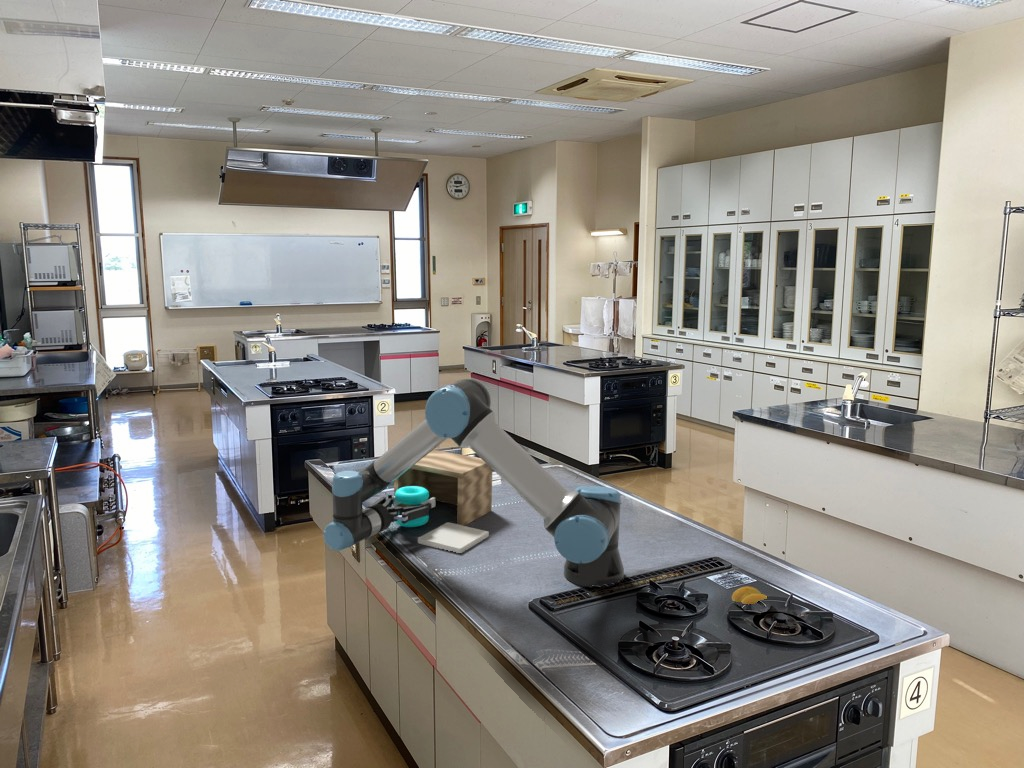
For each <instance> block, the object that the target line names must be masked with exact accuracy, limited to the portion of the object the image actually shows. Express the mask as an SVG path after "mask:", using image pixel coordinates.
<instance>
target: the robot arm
mask: <svg viewBox="0 0 1024 768" xmlns="http://www.w3.org/2000/svg"><path fill="white" fill-rule="evenodd" d="M491 405H492V404H491V395H490V392H489V391H488V389H487V387H486V386H485V385H483V383H481V382H480V381H477V380H475V379H471V378H467V379H466V378H465V379H464V378H463V379H461V380H460V379H459V380H457V381H455V382H453V383H450V384H448V385H447V384H446V385H443V386H441V387H439V388H438V389H437V390H435V391H434V392H432V394H431V395H430V396H429V397H428V399H427V401H426V404H425V406H424V407H425V408H424V409H425V410H424V412H425V414H424V415H425V419H424V420H423V421H422V422H421V423H420V424H418V425H417V426H416V427H415V428H414V429H412V430H411V431H410V432H408V433H407V434H406V435H405V436H403V437H402V438H401V439H400V440H399V441H398V442H396V443H395V444H394V445H393V446H392V447H390V448H389V449H388V450H387V451H385V452H384V453H383V454H382V455H380V456H379V457H378V458H377V459H376V460H374V461H373V462H372V463H370V464H369V465H368V466H367V467H366V468H364V469H362V470H361V471H355V470H343V471H339V472H336V473H335V474H334V475H333V476H332V487H331V492H332V493H331V494H332V496H331V497H332V522H329V524H327V525H326V526H325V529H324V531H323V540H324V542H325V543H326V545H327V546H328V547H329V548H330V549H331V550H334V551H336V552H340V551H342V550H345V549H348V548H351V547H353V546H354V545H356V544H359V543H360V542H362V541H364V540H367V539H369V538H370V537H373V536H375V535H376V534H380V533H381V532H384V531H386V530H387V529H388V528H389V527H390V525H391V524H392V523H394V522H396V521H397V520H402V523H403V524H404V523H407V522H408V521H411V520H414V519H418V518H421V517H424V516H427V515H429V510H431V509H433V508H435V507H436V500H435V497H433V498H430V499H427V500H426V501H424V502H422V503H420V504H416V505H413V506H410V507H405V508H402V507H395V508H394V506H397V505H399V504H401V503H400V502H399V501H397V500H396V498H395V496H394V495H392V494H388V495H387V497H386V496H382V497H380V498H378V499H377V500H376V501H374V502H372V503H371V504H368V505H366V508H363V503H364V502H367V501H368V500H369V499H371V498H372V497H375V496H376V495H378V494H380V493H382V492H384V491H385V490H386V489H387V488H388V487H389V486H390V485H391V484H392V483H394V480H395V479H397V478H398V477H399V476H400V475H402V474H403V473H404V472H406V471H407V470H408V469H409V468H411V467H412V466H413V465H414V464H416V463H417V462H418V461H420V460H421V459H422V458H423V457H425V456H426V455H427V454H428V453H430V452H431V451H432V450H436V448H437V447H439V445H441V444H443V442H445V441H446V440H447V439H451V440H452V441H453V442H454V444H455V445H457V446H458V447H459V448H460V449H471V451H472V452H474V454H476V455H477V456H478V458H481V459H482V460H483V461H484V462H485V463H486V464H488V465H489V466H490V467H491V468H492V471H493V472H495V474H496V475H498V476H499V477H500V478H501V479H502V480H503V481H504V482H505V484H507V485H508V486H509V487H510V488H512V490H513V491H515V493H516V494H517V495H519V497H520V498H521V499H523V500H524V501H525V502H526V503H527V504H528V505H529V506H530V507H531V508H532V509H534V511H535V512H536V513H537V514H538V515H540V517H542V518H543V528H544V529H545V530H546V531H547V532H548V533H549V534H550V535H551V536H552V537H553V539H554V546H555V548H556V550H557V551H558V553H559V554H560V555H561V556H562V557H563V558H564V559H565V562H564V565H563V576H564V577H565V578H566V579H567V580H568V581H569V582H570V583H573V584H576V585H578V586H581V587H585V586H592V585H601V584H609V583H613V582H618V581H620V580H622V579H623V580H624V575H625V570H624V564H623V561H622V557H621V554H620V549H619V539H620V538H619V537H620V523H621V521H620V518H621V505H622V499H621V498H622V497H621V492H619V491H618V490H617V489H615V488H611V487H607V486H601V485H600V486H599V485H580V486H578V487H575V489H574V491H569V490H567V488H565V487H564V486H563V485H562V484H561V483H560V482H559V481H558V480H557V479H556V478H554V476H552V475H551V473H549V472H548V471H547V470H546V469H545V468H544V467H543V466H542V465H541V464H540V463H539V462H538V461H537V460H535V458H534V457H533V456H531V455H530V453H528V452H527V450H525V449H524V448H523V447H522V446H521V445H520V444H519V443H518V442H516V441H515V440H514V438H513V437H511V435H509V434H508V433H507V432H506V431H505V430H504V429H503V428H502V427H501V426H500V425H498V423H496V420H495V418H496V417H495V416H496V415H495V412H494V411H493V410H492V409H491ZM398 510H399V511H398ZM623 580H622V581H623Z"/></svg>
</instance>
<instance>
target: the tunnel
mask: <svg viewBox="0 0 1024 768" xmlns="http://www.w3.org/2000/svg"><path fill="white" fill-rule="evenodd" d="M406 486H419V487H423V488H425V489H427V490H428V492H429V498H428V499H430V498H433V497H435V502H436V501H438V502H441V503H446V504H451V505H454V506H457V510H456V512H457V515H456V516H457V521H456V524H458V525H462V526H467V525H468V524H470V523H471V522H473V521H476V520H477V519H479V518H481V517H482V516H484V515H486V514H488V513H490V512H492V510H493V509H492V507H493V506H492V504H493V503H492V502H493V469H492V468H491V467H490V466H489V465H488V464H486V463H485V462H484V461H483V460H482V459H481V458H480V457H476V456H470V455H466V454H459V453H453V452H448V451H443V450H436V449H434V450H432V451H431V452H430V453H428V454H427V455H426V456H425V457H423V458H422V459H421V460H420V461H418V462H417V463H416V464H414V465H413V466H412V467H411V468H409V469H408V470H407V471H406V472H404V473H403V474H402V475H400V476H399V477H398V478H397V479H395V480H394V481H393V497H394V496H395V492H396V491H397V490H398V489H399V488H402V487H406ZM428 499H427V500H428ZM410 506H414V505H407V504H403V503H401V504H399V505H397V506H393V508H395V507H402V508H405V507H410ZM398 511H399V510H398Z"/></svg>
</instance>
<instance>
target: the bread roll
mask: <svg viewBox="0 0 1024 768" xmlns="http://www.w3.org/2000/svg"><path fill="white" fill-rule="evenodd" d="M761 593H762V592H761V591H759V590H758V589H757V588H756V587H752V586H749V585H748V586H747V585H746V586H742V587H740V588H737V589H736V590H735V591H734V592H733V593H732V595H731V600H732V602H733V601H736V602H742V603H743V604H748V605H749V604H755V603H757V602H758V601H759V600H764V599H767V595H765V594H764V593H762V594H761Z"/></svg>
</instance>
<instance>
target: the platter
mask: <svg viewBox="0 0 1024 768" xmlns="http://www.w3.org/2000/svg"><path fill="white" fill-rule="evenodd" d="M489 533H490V532H489V531H487V530H483V529H479V528H474V527H470V526H467V525H465V526H462V525H458V524H457V523H453V522H445V523H444V524H442V525H440V526H438V527H436V528H434V529H432V530H430V531H428V532H427V533H425V534H423V535H421V536H419V537H417V544H420V545H424V546H427V547H431V548H434V549H435V548H436V549H438V548H439V549H440V550H442V549H444V550H443V551H446V550H448V552H450V551H453V552H452V553H454V552H456V553H455V554H458V553H461V554H462V553H464V552H466V551H467V550H470V549H471V548H472V547H474V546H476V545H477V544H478V543H481V542H482V541H484V540H485V539H488V538H489V536H490V535H489ZM483 539H484V540H483ZM465 550H466V551H465Z"/></svg>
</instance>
